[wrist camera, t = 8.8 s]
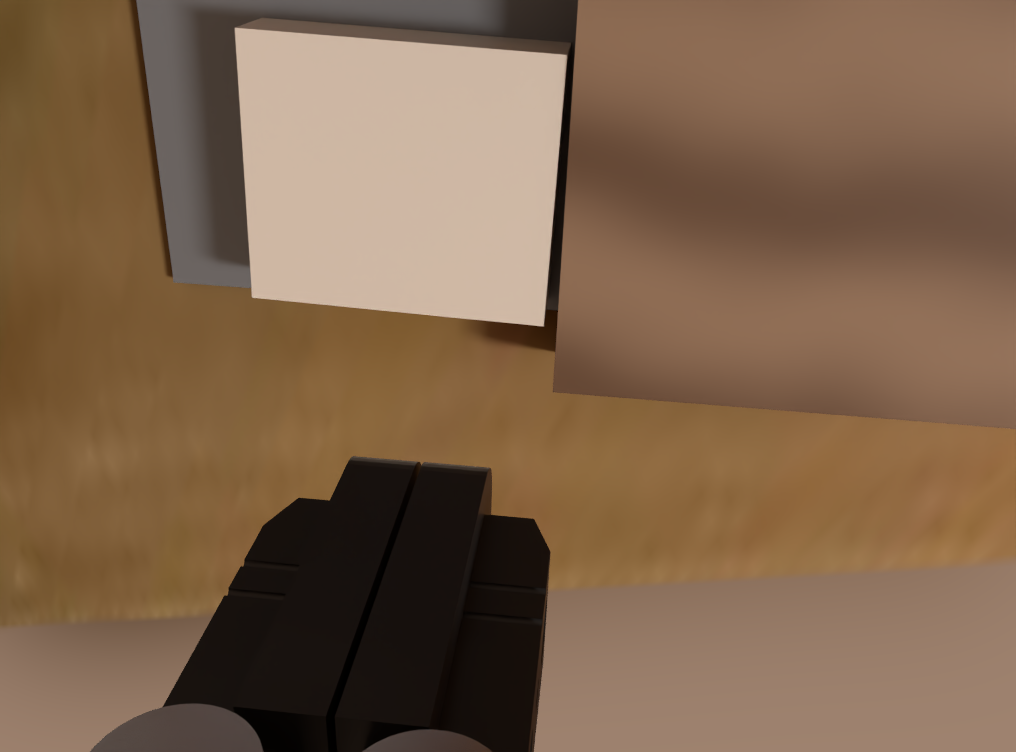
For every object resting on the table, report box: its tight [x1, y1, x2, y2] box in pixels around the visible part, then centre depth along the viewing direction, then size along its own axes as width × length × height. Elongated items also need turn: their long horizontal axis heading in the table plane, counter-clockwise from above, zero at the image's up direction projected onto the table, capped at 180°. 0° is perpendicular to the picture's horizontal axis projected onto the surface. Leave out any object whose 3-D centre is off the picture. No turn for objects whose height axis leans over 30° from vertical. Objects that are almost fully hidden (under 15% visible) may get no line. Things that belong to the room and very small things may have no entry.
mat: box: [136, 0, 578, 310], centre depth 26 cm, size 9×12×1 cm
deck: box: [553, 0, 1016, 429], centre depth 24 cm, size 12×16×2 cm
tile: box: [235, 18, 571, 326], centre depth 25 cm, size 7×8×2 cm
